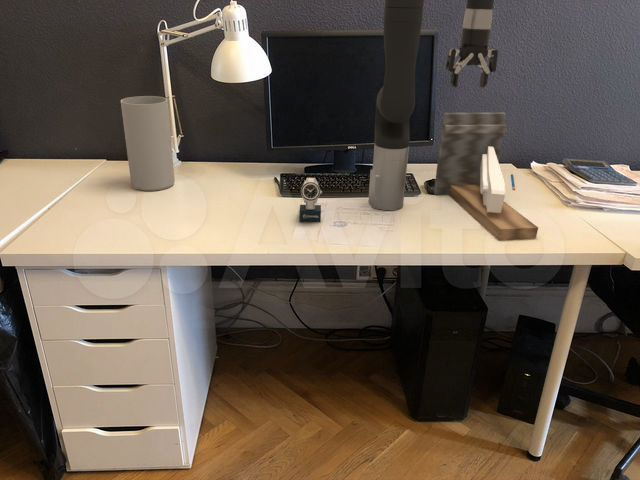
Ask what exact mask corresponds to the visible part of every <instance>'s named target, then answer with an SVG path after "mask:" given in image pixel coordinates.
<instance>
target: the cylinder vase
mask: <svg viewBox="0 0 640 480" xmlns="http://www.w3.org/2000/svg"><path fill="white" fill-rule="evenodd" d="M120 106H121V116H122V122H123V123H122V124H123V130H124V137H125V145H126V146H125V147H126V154H127V160H128V170H129V176H130V184H131V186H132V188H133V189H135V190H139V191H142V192H143V191H144V192H153V191H154V192H155V191H163V190H165V189H166V190H167V189H168V188H171V187H172V186H173V185H174V184H175V182H176V181H175V179H176V178H175V169H174V159H173V149H172V137H171V127H170V125H171V124H170V116H169V105H168V98H167V97H163V96H155V95H143V96H142V95H141V96H140V95H139V96H131V97H130V96H129V97H124V98H122V99H120Z"/></svg>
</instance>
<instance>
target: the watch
mask: <svg viewBox="0 0 640 480" xmlns="http://www.w3.org/2000/svg"><path fill="white" fill-rule="evenodd" d="M318 183H319V182H318V181H317V180H316V177H306V180H304V182H303V184H302V186H301V189H300V193H301V194H300V195H301V197H302V199H303V203H304V204H299V211H298V213H299V216H298V218H299V223H321V222H322V221H321V220H322V217H321V216H322V205H321V204H317V202H318V200H319V198H320V195H321V194H323V191H322V190H321V188H320V186H319V184H318Z"/></svg>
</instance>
